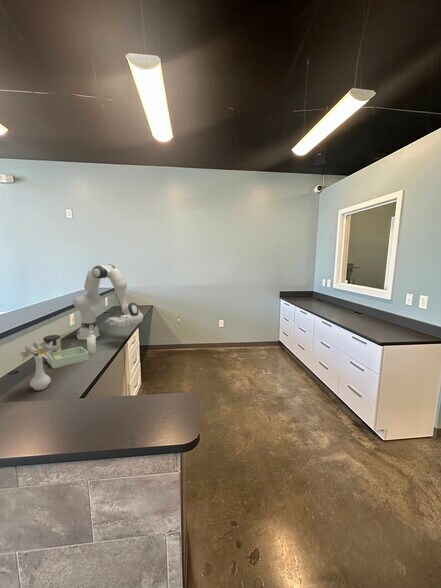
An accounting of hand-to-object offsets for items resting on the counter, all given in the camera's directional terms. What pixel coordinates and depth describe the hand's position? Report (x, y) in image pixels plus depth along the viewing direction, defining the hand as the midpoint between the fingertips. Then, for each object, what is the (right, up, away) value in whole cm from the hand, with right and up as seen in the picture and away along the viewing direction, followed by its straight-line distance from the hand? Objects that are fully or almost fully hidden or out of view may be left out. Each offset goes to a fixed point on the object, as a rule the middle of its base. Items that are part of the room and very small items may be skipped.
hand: (107, 323), depth 197 cm
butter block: (-20, -24, -29) cm, 42 cm away
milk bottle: (-9, -21, -6) cm, 24 cm away
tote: (-16, -24, -24) cm, 37 cm away
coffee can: (-32, -22, -15) cm, 42 cm away
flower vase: (-10, -29, -59) cm, 66 cm away
